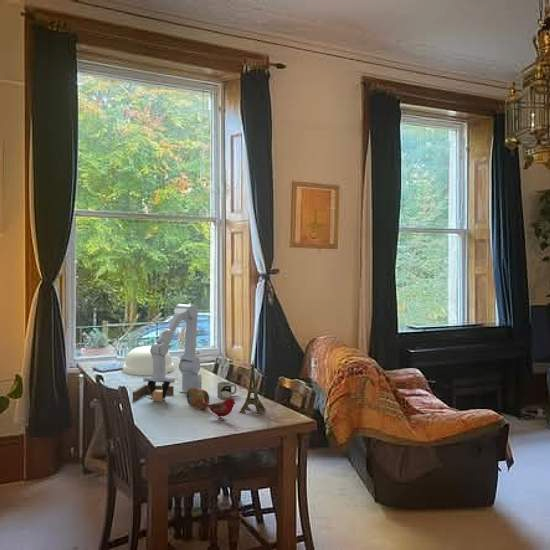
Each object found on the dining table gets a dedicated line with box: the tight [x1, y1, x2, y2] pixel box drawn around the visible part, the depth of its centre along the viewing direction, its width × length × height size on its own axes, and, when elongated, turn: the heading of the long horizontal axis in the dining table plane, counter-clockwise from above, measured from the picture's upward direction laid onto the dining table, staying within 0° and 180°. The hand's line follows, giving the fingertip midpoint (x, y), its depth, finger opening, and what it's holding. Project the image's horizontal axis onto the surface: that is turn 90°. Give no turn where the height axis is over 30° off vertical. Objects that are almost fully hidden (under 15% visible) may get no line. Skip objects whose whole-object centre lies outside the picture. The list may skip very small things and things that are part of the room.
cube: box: [152, 390, 166, 402], centre depth 261 cm, size 4×4×4 cm
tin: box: [186, 388, 210, 410], centre depth 250 cm, size 15×3×8 cm, turn 40°
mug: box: [216, 381, 238, 400], centre depth 270 cm, size 10×7×7 cm
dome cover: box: [122, 345, 175, 376], centre depth 330 cm, size 32×30×14 cm
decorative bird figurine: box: [201, 397, 236, 421], centre depth 232 cm, size 3×18×10 cm, turn 61°
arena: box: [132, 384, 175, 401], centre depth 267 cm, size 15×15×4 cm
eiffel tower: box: [238, 361, 266, 416], centre depth 245 cm, size 11×11×25 cm
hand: (158, 397), depth 261 cm, fingers closed on cube, 4 cm apart
